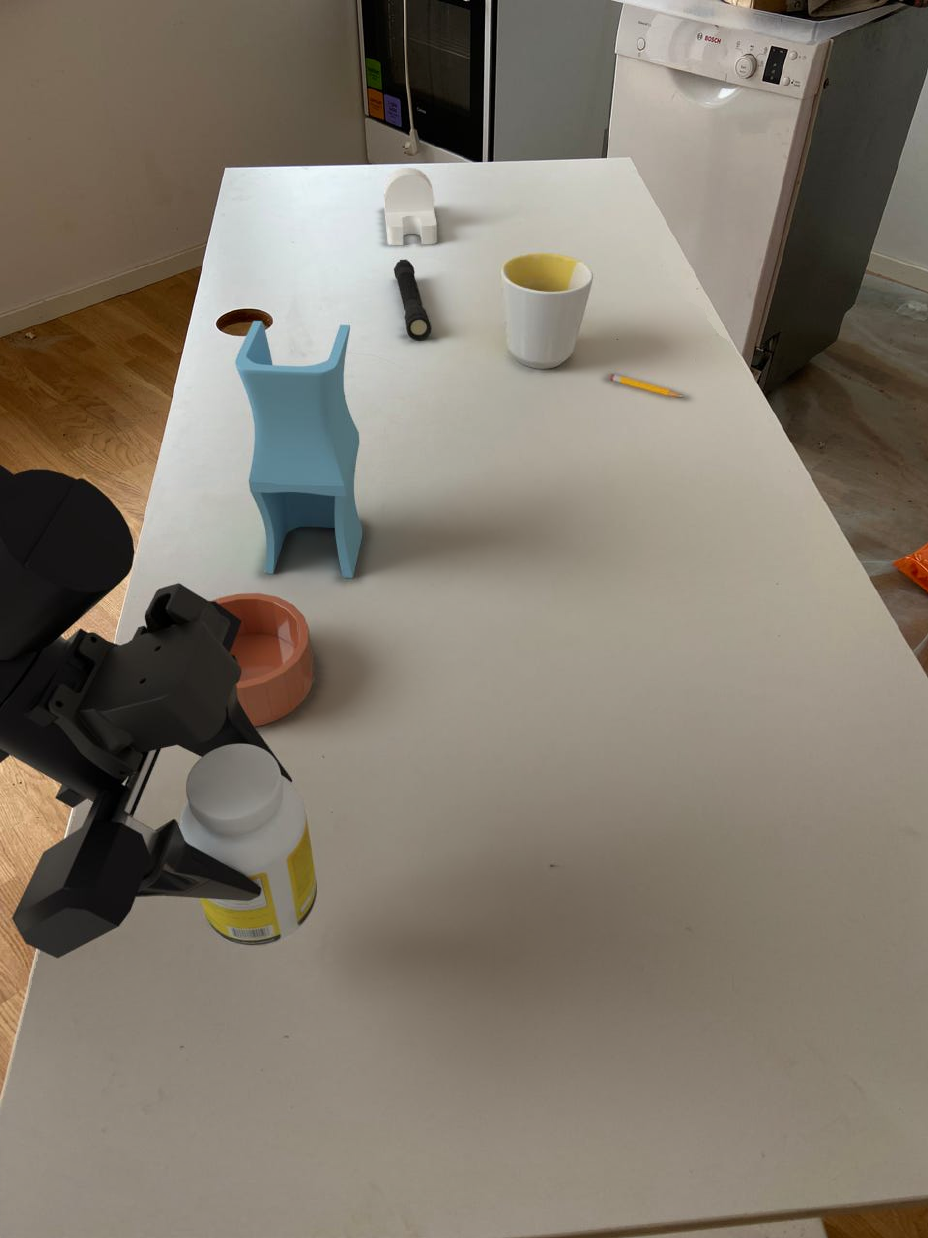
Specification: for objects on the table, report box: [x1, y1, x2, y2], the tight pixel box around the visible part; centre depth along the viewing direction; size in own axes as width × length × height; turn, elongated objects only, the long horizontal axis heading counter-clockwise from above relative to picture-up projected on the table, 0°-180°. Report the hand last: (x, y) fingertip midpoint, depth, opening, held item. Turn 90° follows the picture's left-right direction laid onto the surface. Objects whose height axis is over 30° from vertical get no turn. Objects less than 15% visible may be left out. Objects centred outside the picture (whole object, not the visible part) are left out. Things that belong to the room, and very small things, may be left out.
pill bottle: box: [179, 744, 318, 948], centre depth 52 cm, size 6×6×12 cm
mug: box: [500, 252, 594, 370], centre depth 112 cm, size 14×10×10 cm
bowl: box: [212, 592, 315, 728], centre depth 75 cm, size 10×10×4 cm
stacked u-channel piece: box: [234, 320, 363, 579], centre depth 81 cm, size 8×8×20 cm
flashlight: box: [393, 259, 433, 342], centre depth 122 cm, size 3×16×3 cm, turn 9°
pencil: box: [609, 373, 683, 398], centre depth 109 cm, size 1×8×1 cm, turn 62°
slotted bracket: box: [383, 167, 438, 246], centre depth 139 cm, size 13×7×8 cm, turn 6°
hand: (272, 839), depth 52 cm, fingers closed on pill bottle, 6 cm apart
